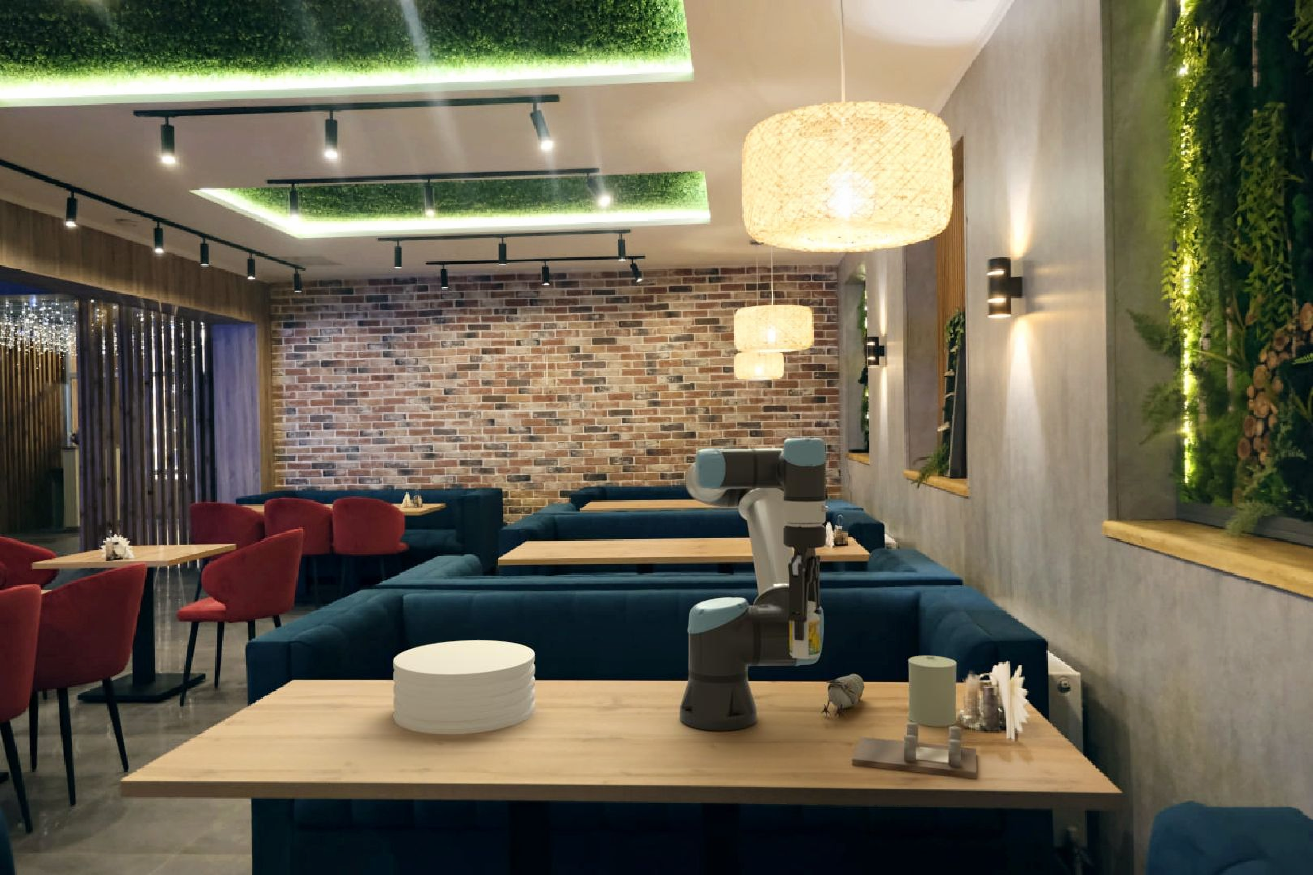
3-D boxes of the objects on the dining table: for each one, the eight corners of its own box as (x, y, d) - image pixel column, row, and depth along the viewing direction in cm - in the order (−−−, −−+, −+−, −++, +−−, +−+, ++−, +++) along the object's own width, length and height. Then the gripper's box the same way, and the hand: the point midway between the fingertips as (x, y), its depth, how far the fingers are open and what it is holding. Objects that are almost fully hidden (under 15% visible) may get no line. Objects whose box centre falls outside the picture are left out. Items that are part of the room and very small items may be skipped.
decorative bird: (871, 701, 197) (871, 665, 197) (843, 721, 183) (843, 683, 183) (846, 697, 200) (847, 662, 200) (818, 717, 186) (818, 679, 186)
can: (951, 713, 188) (951, 653, 188) (961, 727, 179) (961, 665, 179) (904, 711, 189) (904, 652, 189) (912, 726, 180) (912, 664, 180)
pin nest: (852, 764, 160) (852, 735, 159) (859, 742, 171) (859, 714, 171) (976, 778, 153) (976, 748, 153) (975, 754, 165) (975, 725, 164)
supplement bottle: (822, 653, 169) (822, 600, 169) (816, 660, 164) (816, 605, 164) (793, 651, 171) (793, 598, 171) (786, 657, 166) (786, 603, 166)
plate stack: (472, 744, 171) (472, 681, 171) (363, 720, 185) (362, 662, 185) (562, 704, 195) (561, 649, 195) (459, 686, 209) (459, 635, 209)
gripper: (812, 529, 158) (812, 668, 158) (836, 520, 174) (837, 645, 174) (769, 528, 161) (769, 663, 161) (797, 519, 177) (797, 642, 177)
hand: (804, 654), depth 168 cm, fingers closed on supplement bottle, 5 cm apart
